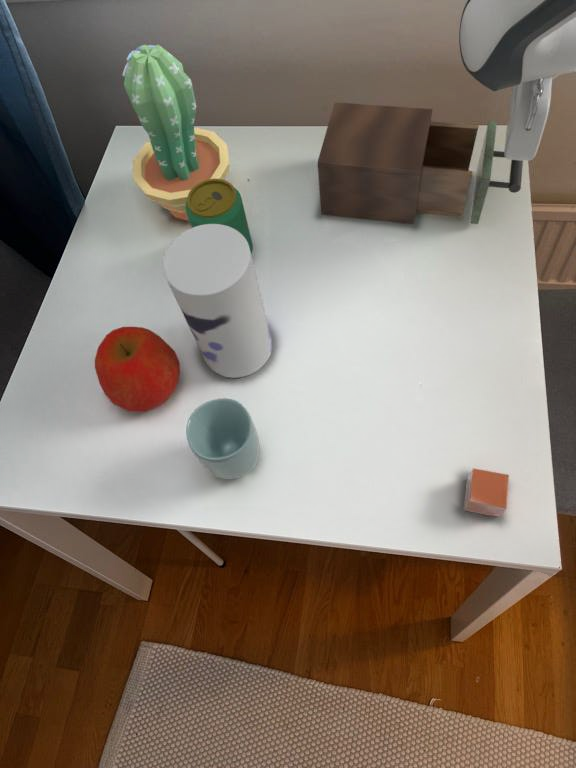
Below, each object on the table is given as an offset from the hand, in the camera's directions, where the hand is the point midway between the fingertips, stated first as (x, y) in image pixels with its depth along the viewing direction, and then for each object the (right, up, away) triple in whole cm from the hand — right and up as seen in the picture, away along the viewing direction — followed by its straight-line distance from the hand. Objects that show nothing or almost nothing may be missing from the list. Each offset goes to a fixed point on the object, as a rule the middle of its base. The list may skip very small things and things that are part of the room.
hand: (514, 138), depth 79 cm
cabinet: (-17, -2, +14) cm, 22 cm away
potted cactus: (-46, -3, +17) cm, 50 cm away
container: (-38, -28, +4) cm, 47 cm away
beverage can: (-40, -13, +12) cm, 44 cm away
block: (-7, -47, -9) cm, 49 cm away
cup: (-38, -43, -4) cm, 57 cm away
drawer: (-5, -4, +11) cm, 13 cm away
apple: (-50, -34, +3) cm, 61 cm away
